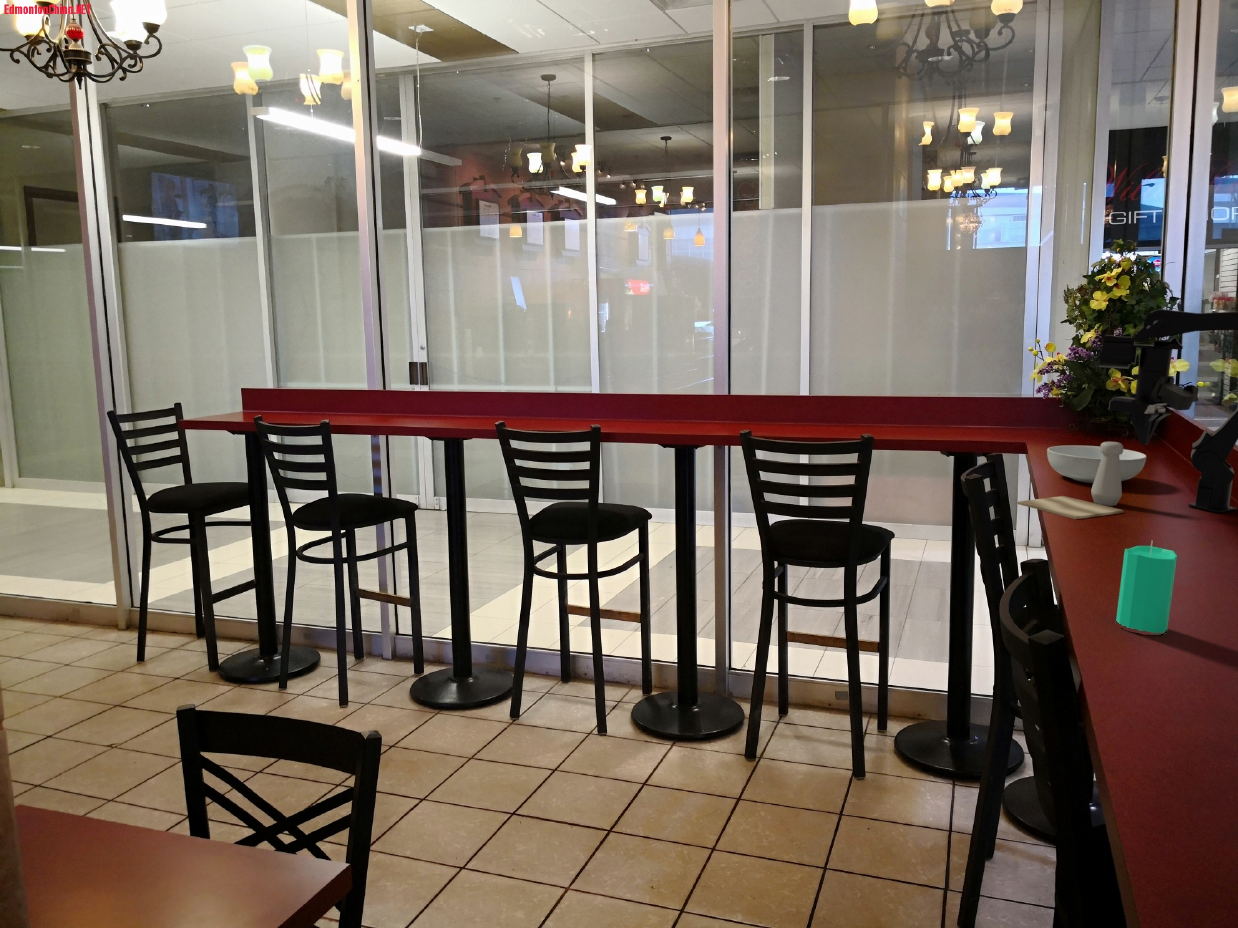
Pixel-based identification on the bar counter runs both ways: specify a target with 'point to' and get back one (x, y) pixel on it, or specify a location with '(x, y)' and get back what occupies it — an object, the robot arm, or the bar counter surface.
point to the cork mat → (1070, 507)
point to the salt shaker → (1108, 475)
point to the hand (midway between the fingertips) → (1144, 444)
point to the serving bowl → (1091, 462)
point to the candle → (1146, 588)
